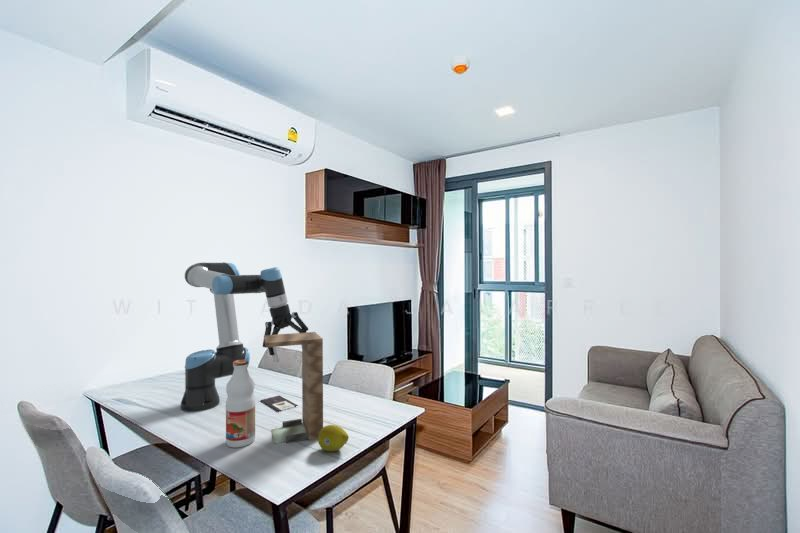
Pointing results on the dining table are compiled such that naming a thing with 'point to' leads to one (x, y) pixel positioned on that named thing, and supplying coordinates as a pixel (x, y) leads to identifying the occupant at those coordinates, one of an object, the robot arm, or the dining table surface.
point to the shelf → (303, 387)
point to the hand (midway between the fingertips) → (291, 355)
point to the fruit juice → (240, 407)
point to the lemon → (332, 438)
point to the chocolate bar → (278, 403)
